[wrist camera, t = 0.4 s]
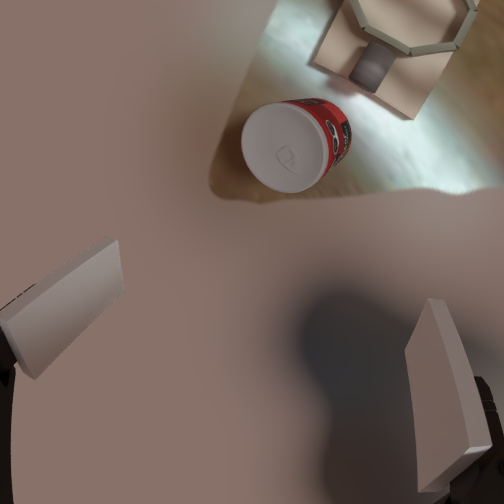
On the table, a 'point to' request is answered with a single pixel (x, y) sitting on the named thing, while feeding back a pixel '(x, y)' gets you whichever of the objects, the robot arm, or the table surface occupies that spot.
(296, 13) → the table surface
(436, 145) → the table surface
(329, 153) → the canned food
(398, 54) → the plate
